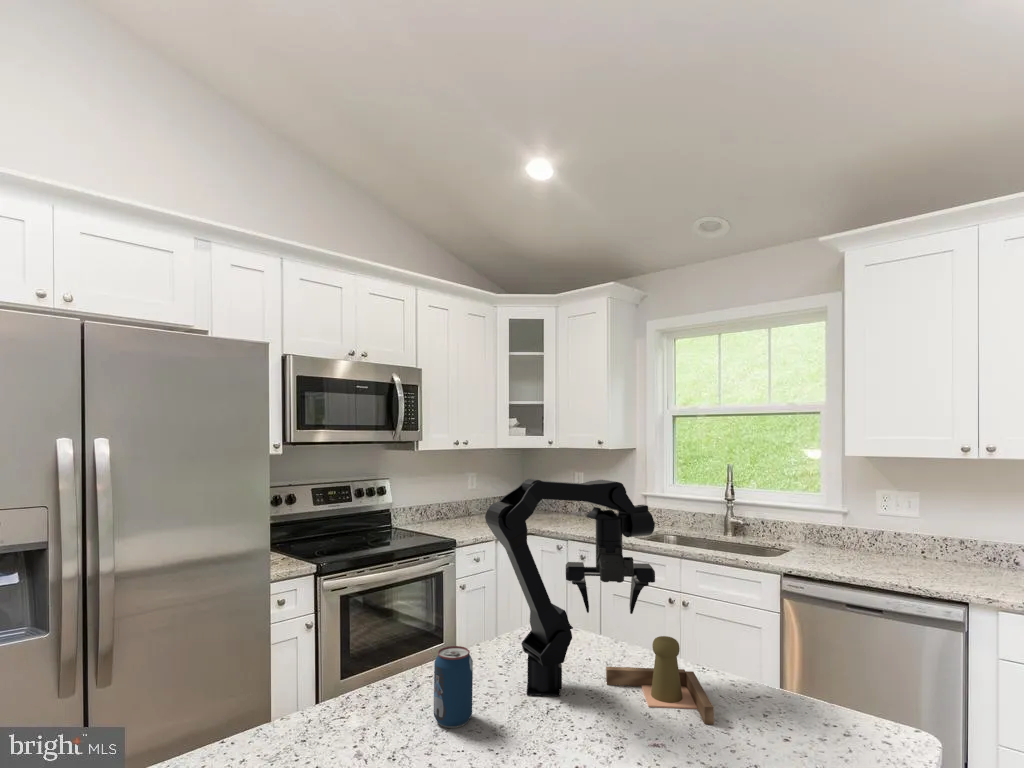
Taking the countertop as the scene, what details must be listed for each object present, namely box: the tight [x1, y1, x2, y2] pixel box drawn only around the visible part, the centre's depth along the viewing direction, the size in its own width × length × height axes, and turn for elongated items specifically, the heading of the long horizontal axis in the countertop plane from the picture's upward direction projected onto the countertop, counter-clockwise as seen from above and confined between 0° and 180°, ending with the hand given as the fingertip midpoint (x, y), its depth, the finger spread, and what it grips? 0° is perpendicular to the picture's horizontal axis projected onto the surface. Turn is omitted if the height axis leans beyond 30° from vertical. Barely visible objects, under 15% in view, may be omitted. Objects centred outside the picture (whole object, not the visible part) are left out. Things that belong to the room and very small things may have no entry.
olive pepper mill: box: [651, 635, 683, 703], centre depth 118 cm, size 6×6×11 cm
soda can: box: [433, 645, 474, 729], centre depth 108 cm, size 7×7×12 cm
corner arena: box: [605, 666, 715, 725], centre depth 116 cm, size 18×17×3 cm
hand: (609, 612), depth 128 cm, fingers open, 9 cm apart
